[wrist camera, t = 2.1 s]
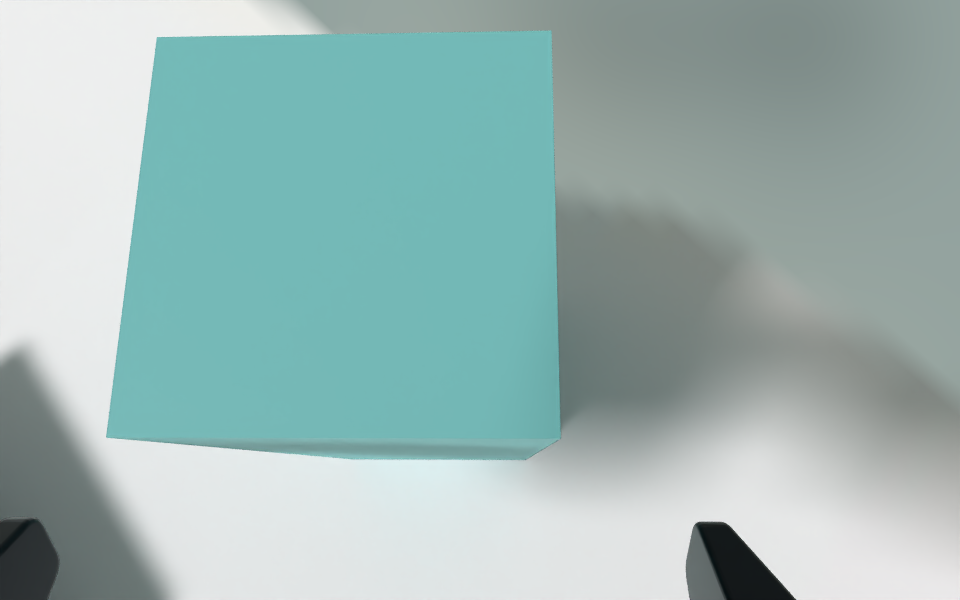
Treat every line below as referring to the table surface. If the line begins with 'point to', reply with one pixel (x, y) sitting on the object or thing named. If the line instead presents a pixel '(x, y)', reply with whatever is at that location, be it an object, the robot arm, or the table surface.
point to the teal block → (345, 248)
